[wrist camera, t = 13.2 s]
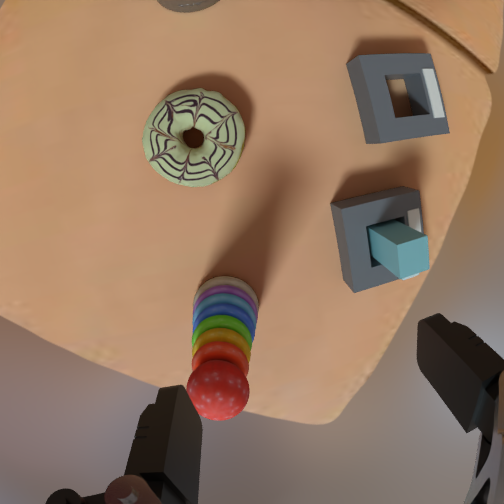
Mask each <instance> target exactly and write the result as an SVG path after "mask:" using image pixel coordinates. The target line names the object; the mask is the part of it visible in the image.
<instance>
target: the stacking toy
mask: <svg viewBox="0 0 504 504" xmlns="http://www.w3.org/2000/svg"><path fill="white" fill-rule="evenodd" d="M258 310H259V304H258V299H257V296H256V294H255V292H254V291H253V289H252V288H251V287H250V286H249V285H248V284H247V283H245V282H244V281H242V280H240V279H238V278H235V277H230V276H220V277H215V278H212V279H210V280H208V281H207V282H205V283H204V284H203V285H202V286H201V287H200V288H199V289H198V291H197V293H196V295H195V297H194V302H193V336H192V347H193V350H192V356H193V359H192V370H193V372H192V374H191V375H190V377H189V380H188V383H187V393H188V395H189V397H190V399H191V401H192V403H193V405H194V407H195V408H196V410H197V412H198V414H200V415H201V416H203V417H205V418H208V419H211V420H226V419H230V418H232V417H234V416H236V415H237V414H239V413H240V412H241V411H242V410H243V409H244V407H245V406H246V404H247V401H248V399H249V384H248V381H247V378H246V376H247V374H248V370H249V361H250V356H251V352H250V351H251V347H252V342H253V340H254V336H255V329H256V323H257V318H258Z"/></svg>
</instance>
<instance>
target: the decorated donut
mask: <svg viewBox="0 0 504 504" xmlns="http://www.w3.org/2000/svg"><path fill="white" fill-rule="evenodd" d="M192 127H195V128H196V129H199V130H201V131H202V132H203V134H204V142H203V144H201V146H198V147H197V148H190V147H188V146H187V144H186V143H185V142H184V137H183V134H184V132H185V131H186V130H189V129H191V128H192ZM244 141H245V126H244V123H243V120H242V117H241V115H240V113H239V111H238V109H237V108H236V106H234V105H233V104H232V103H231V102H230V101H228V100H227V99H226V98H225V97H224V96H222V94H221V93H219V92H216V91H206V90H204V89H203V88H197V89H193V90H180V91H177V92H174V93H172V94H170V95H168V96H167V97H166V98H165V99H163V100H162V101H161V102H160V103H159V104H158V105H157V106H156V107H155V109H154V110H153V111H152V113H151V114H150V116H149V118H148V120H147V122H146V125H145V128H144V131H143V138H142V142H143V147H144V152H145V156H146V159H147V160H148V162H149V163H150V164H151V166H152V167H153V169H154V170H155V171H156V172H158V173H159V174H161V175H162V176H163V177H164V178H166V179H168V180H169V181H171V182H174V183H176V184H180V185H184V186H189V187H198V186H199V187H203V186H207V185H210V184H212V183H215V182H217V181H219V180H220V179H222V178H224V177H225V176H227V175H228V174H229V173H230V172H231V171H232V170H233V169H234V168H235V167H236V165H237V163H238V161H239V159H240V157H241V154H242V150H243V148H244Z"/></svg>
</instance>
